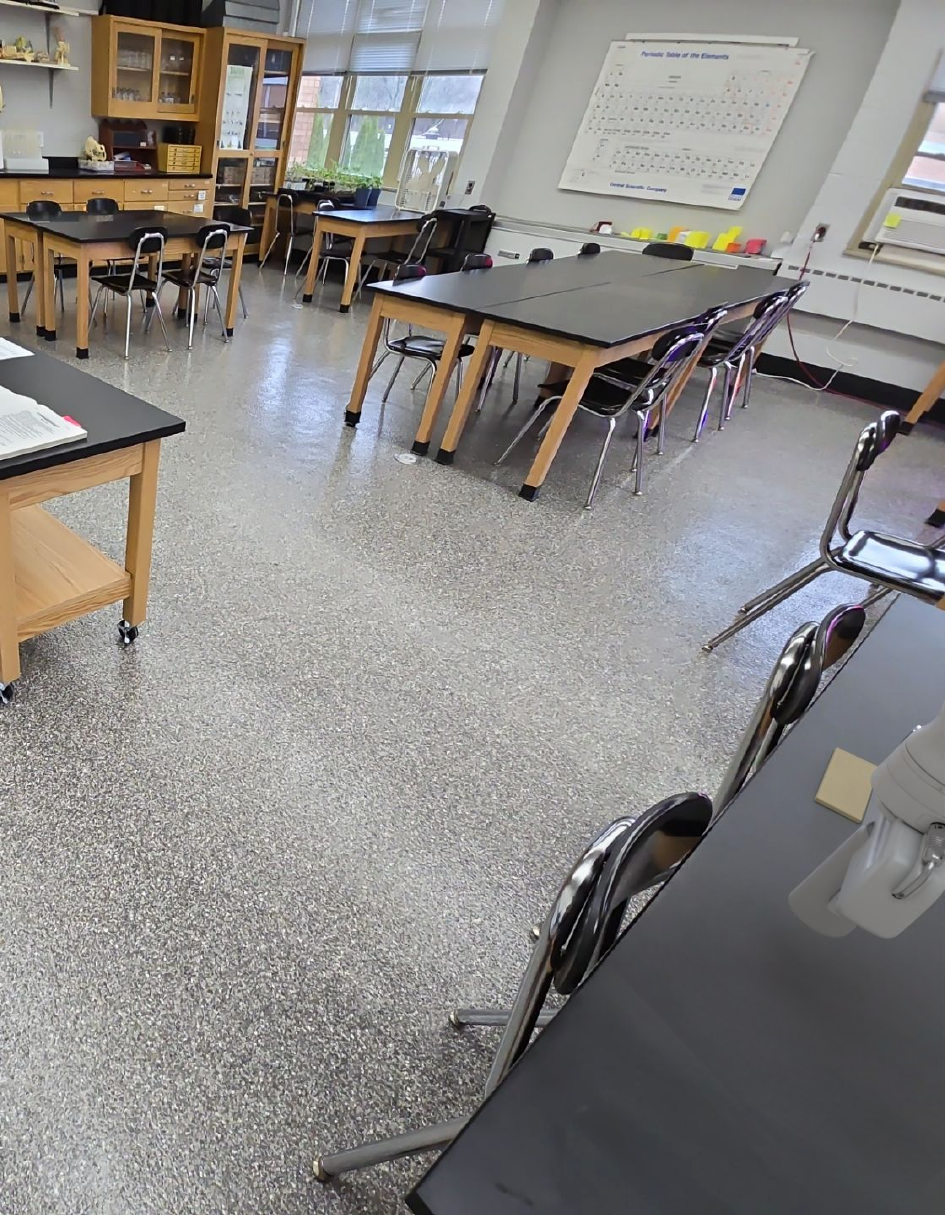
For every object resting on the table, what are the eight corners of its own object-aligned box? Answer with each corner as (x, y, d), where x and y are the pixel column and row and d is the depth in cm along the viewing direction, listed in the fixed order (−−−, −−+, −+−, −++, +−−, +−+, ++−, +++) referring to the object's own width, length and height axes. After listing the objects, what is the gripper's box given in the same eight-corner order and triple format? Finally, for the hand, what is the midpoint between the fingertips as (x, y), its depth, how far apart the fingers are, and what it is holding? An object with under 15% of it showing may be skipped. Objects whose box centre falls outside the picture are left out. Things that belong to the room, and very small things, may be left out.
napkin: (834, 750, 97) (837, 747, 96) (876, 770, 94) (879, 767, 94) (813, 800, 89) (816, 797, 89) (858, 823, 87) (861, 820, 86)
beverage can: (773, 903, 71) (851, 829, 63) (803, 886, 72) (882, 812, 65) (826, 948, 67) (915, 874, 60) (856, 929, 69) (946, 856, 61)
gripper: (993, 899, 51) (867, 991, 59) (1012, 756, 62) (904, 851, 71) (880, 841, 55) (776, 936, 63) (917, 716, 66) (825, 810, 74)
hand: (844, 890), depth 67 cm, fingers closed on beverage can, 5 cm apart
